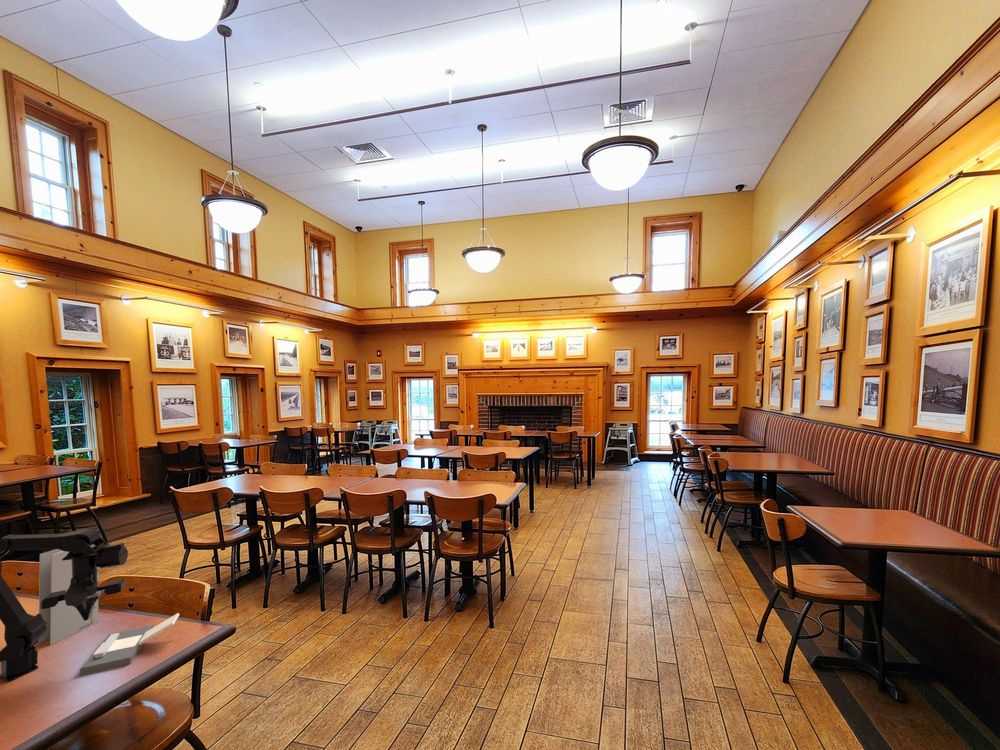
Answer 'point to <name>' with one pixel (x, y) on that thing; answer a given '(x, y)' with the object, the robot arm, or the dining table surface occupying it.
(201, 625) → the dining table surface
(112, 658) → the board
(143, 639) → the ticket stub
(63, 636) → the brochure
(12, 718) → the dining table surface
